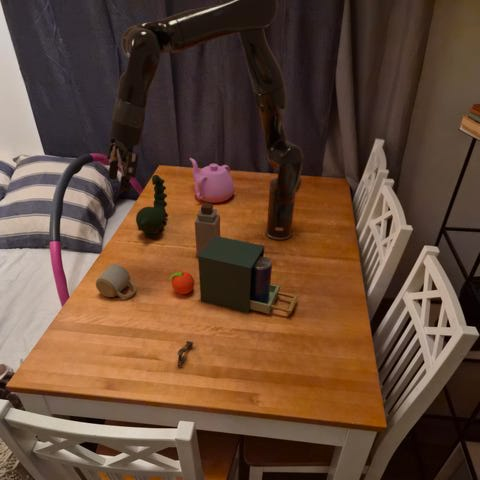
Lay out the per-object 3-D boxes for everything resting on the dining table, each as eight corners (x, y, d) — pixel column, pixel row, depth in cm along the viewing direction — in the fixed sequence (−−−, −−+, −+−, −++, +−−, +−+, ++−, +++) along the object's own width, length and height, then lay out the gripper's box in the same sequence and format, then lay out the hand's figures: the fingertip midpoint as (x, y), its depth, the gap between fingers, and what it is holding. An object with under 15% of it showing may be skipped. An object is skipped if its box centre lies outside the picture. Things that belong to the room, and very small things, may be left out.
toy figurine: (152, 217, 163) (132, 245, 143) (146, 170, 152) (124, 192, 132) (175, 219, 162) (158, 247, 142) (171, 171, 151) (152, 194, 131)
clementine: (169, 300, 122) (167, 281, 117) (168, 286, 127) (165, 267, 122) (196, 297, 123) (194, 278, 118) (193, 283, 128) (192, 265, 123)
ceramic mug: (96, 295, 122) (91, 275, 117) (111, 280, 128) (107, 260, 123) (127, 304, 120) (122, 283, 115) (141, 288, 126) (137, 268, 120)
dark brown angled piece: (174, 367, 101) (175, 350, 99) (185, 355, 108) (186, 339, 107) (180, 368, 100) (182, 352, 99) (191, 356, 108) (193, 341, 106)
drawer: (298, 298, 122) (299, 290, 120) (289, 319, 115) (290, 311, 113) (233, 282, 127) (233, 274, 125) (220, 302, 120) (220, 293, 118)
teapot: (207, 180, 187) (205, 150, 178) (245, 193, 178) (246, 161, 169) (174, 197, 174) (171, 165, 164) (214, 211, 164) (213, 178, 155)
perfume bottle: (215, 260, 138) (214, 211, 126) (196, 257, 139) (193, 209, 127) (220, 249, 143) (219, 202, 131) (202, 247, 144) (199, 199, 132)
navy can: (251, 289, 124) (253, 253, 115) (271, 294, 122) (274, 258, 114) (244, 302, 119) (246, 265, 111) (265, 307, 118) (268, 270, 109)
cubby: (261, 289, 126) (264, 245, 115) (248, 313, 118) (250, 268, 107) (216, 279, 130) (215, 235, 119) (200, 301, 122) (198, 256, 111)
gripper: (153, 133, 99) (140, 196, 107) (131, 117, 108) (121, 177, 115) (124, 126, 94) (113, 193, 102) (103, 110, 103) (95, 173, 111)
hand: (117, 184), depth 109 cm, fingers open, 8 cm apart
